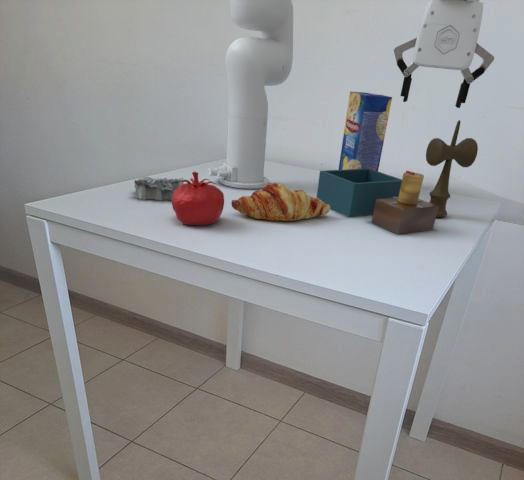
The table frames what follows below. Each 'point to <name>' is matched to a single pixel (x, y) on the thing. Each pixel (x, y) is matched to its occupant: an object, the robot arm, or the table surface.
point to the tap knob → (410, 188)
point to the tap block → (404, 215)
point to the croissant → (280, 204)
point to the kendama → (448, 164)
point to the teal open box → (356, 190)
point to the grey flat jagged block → (156, 188)
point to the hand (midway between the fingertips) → (431, 104)
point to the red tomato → (197, 202)
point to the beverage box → (364, 131)
